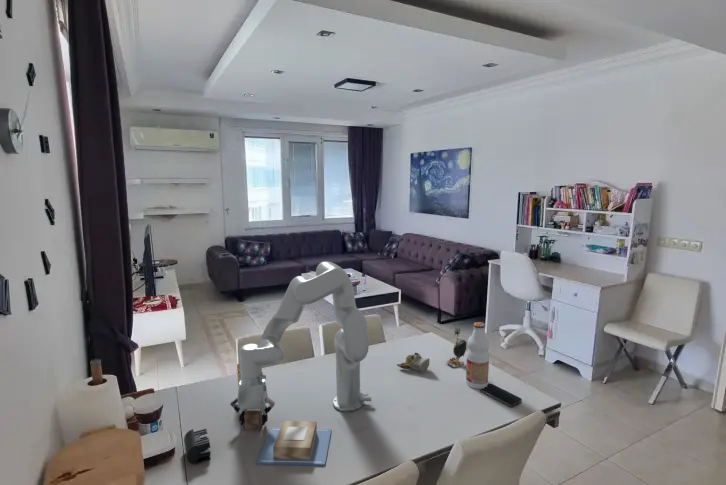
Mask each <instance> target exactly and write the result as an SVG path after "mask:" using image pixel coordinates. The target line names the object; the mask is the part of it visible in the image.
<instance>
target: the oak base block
mask: <svg viewBox="0 0 726 485" xmlns="http://www.w3.org/2000/svg"><path fill="white" fill-rule="evenodd" d="M279 428H280V430H279V433H278V436H277V438H276V441H275V443H274V446H273V457H274V459H311V454H312V450H313V446H314V442H315V438H316V433H317V429H318V427H317V421H301V420H300V421H299V420H298V421H297V420H283V421H282V423H281V426H280V427H279Z"/></svg>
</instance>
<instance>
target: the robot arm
mask: <svg viewBox="0 0 726 485" xmlns="http://www.w3.org/2000/svg"><path fill="white" fill-rule="evenodd" d="M315 275H316V276H315V277H312V278H310V279H309V278H308V277H306V276H304V275H303V276H302V275H297V276H295V277H293V278H292V280H291V281H290V283H289V285H288V287H287V289H286V291H285V293H284V296H283V298H282V299H281V302H280V305H279V307H278V309H277V311H276V312H275V314H274V315H273V316H272V317H271V318H270V320H269V321H268V323H267V324H266V326H265V328H264V330H263V332H262V335H261V337H260V339H259V343H258V344H257V343H246V344H243V345H242V346H241V347H240V348H239V350H238V352H239V353H238V355H239V364H240V375H241V381H240V383H239V387H237V388H238V389H237V397H236V398H235V399H233V400H232V401H231V402H230V404H229V405H230V406H231V407H232V408H233V409H234V411H235V412H236V413H237V415H239V422H240V425H241V426H244V425H245V418H244V415H245V413H246V410H248V409H260V410H261V411H262V424H261V426H266V423H267V422H268V413H269V412H270V411H271V410H272V409H273V408H274V406H275V405H276V402H275V401H274V400H273V399H271V398H270V397H269V395H268V394H269V393H268V388H267V384H266V381H265V380H266V379H267V376H266V375H265V374H263V369H262V366H268V367H269V366H270V367H271V366H272V367H273V366H276V365H279V364H281V362H283V360H284V357H285V352H284V350H283V347H282V345H281V344H280V342H281V339H282V337H283V335H284V333H285V332H286V329H287V328H288V327H290V326H291V325H293V324H296V323H297V322H298V321H299V320H300V318H301V316H302V313H303V311H304V309H305V306H306V305H311V304H314V303H316V302H318V301H321V300H323V299H325V298H326V297H329V296H330V295H332V302H333V303H332V304H333V315H334V316H333V317H334V321H335V322H336V323H335V324H337V326H339V327H340V329H339V330H337V332H336V333H335V336H334V340H333V344H334V352H335V362H336V363H335V366H336V373H335V374H336V396H335V397H333V400H332V405H333V407H334V408H335V409H336V410H338V411H340V412H346V413H348V412H356V411H358V410H360V409H361V408H362V407H363V406H364V404H365V402H372V395H370V396H369V393H363V392H362V389H361V362H362V361H363V360H364V359H365V358H366V357H367V355H368V352H369V332H368V331H369V330H368V323H367V318H366V316H365V315H364V313H363V312H362V311H361V310H360V309H359V308H358V307H357V304H356V296H355V291H354V286H353V283H352V280H351V278H350V277H349V274H348V273H347V272H346V271H345V269H343V268H342V267H341V266H339V265H338V264H336V263H334V262H332V261H322V262H319V264H318V265H317V266H316V269H315ZM267 404H268V406H267Z"/></svg>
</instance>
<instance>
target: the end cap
mask: <svg viewBox="0 0 726 485" xmlns="http://www.w3.org/2000/svg"><path fill="white" fill-rule="evenodd" d="M207 430H208V429H207V428H202V429H199V430H196V431H194V428H193V429H190V430H188V431H187V432H186V434H185V435H184V438H183V443H184V448H185V454H186V460H187V462H189V463H191V464H197V465H198V464H201V463H205V462H208V461H210V460H211V455H212V454H211V450H210V448H211V444H210V438H209V437H208V436H207V434H208V431H207Z"/></svg>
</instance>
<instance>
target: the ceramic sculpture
mask: <svg viewBox="0 0 726 485" xmlns="http://www.w3.org/2000/svg"><path fill="white" fill-rule="evenodd" d="M396 366H397V367H399V368H401V369H404V370H414V371H416V370H417V371H420V373H422V374H423V373H426V372H427V371H428V368H429V366H430V358H429V357H425V358H424V357H422V355H421V354H420V353H418V352H414V353H409V354H408V355H407V356H406V357H405V361H404V362H401V363H398V364H396Z"/></svg>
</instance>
